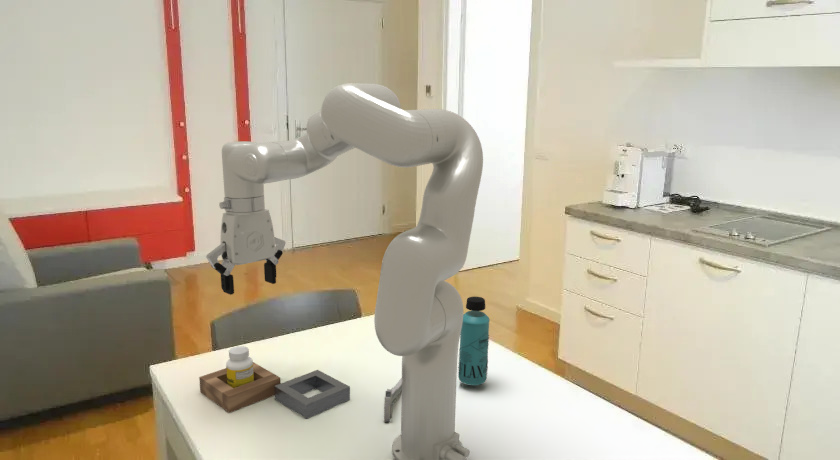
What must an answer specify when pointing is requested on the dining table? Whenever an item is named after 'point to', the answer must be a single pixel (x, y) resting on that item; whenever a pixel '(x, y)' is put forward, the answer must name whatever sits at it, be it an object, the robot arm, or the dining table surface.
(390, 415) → the caliper
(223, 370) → the block
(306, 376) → the socket block
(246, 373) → the supplement bottle
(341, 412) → the dining table surface
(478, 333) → the beverage bottle
